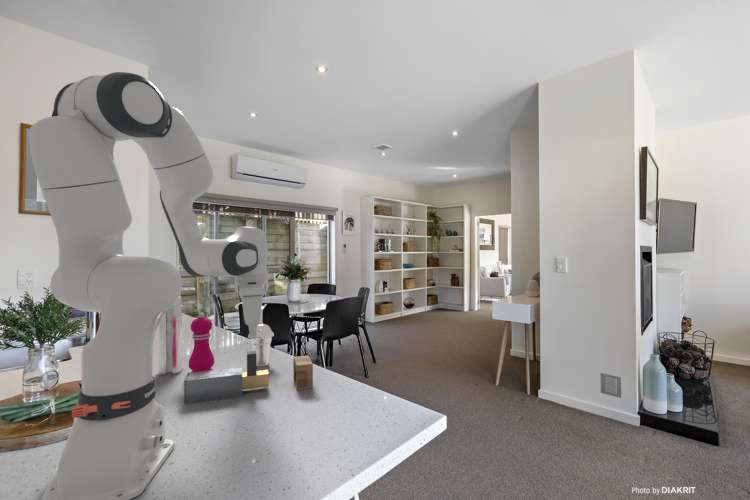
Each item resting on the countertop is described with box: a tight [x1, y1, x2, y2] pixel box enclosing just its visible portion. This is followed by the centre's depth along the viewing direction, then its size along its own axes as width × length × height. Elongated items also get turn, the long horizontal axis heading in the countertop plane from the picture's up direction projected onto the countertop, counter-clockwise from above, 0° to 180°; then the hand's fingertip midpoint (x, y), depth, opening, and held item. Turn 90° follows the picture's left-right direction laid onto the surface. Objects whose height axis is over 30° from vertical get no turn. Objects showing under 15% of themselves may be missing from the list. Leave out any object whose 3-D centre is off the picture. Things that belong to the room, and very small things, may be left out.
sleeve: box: [183, 366, 243, 405], centre depth 96 cm, size 6×14×6 cm, turn 110°
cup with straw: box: [247, 303, 275, 367], centre depth 121 cm, size 8×9×20 cm
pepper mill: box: [188, 312, 215, 372], centre depth 109 cm, size 7×7×20 cm
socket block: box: [292, 355, 314, 391], centre depth 104 cm, size 8×4×7 cm, turn 20°
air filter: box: [157, 295, 183, 376], centre depth 113 cm, size 6×6×25 cm
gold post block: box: [242, 350, 270, 391], centre depth 97 cm, size 4×20×10 cm, turn 110°
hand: (252, 333), depth 99 cm, fingers open, 8 cm apart
